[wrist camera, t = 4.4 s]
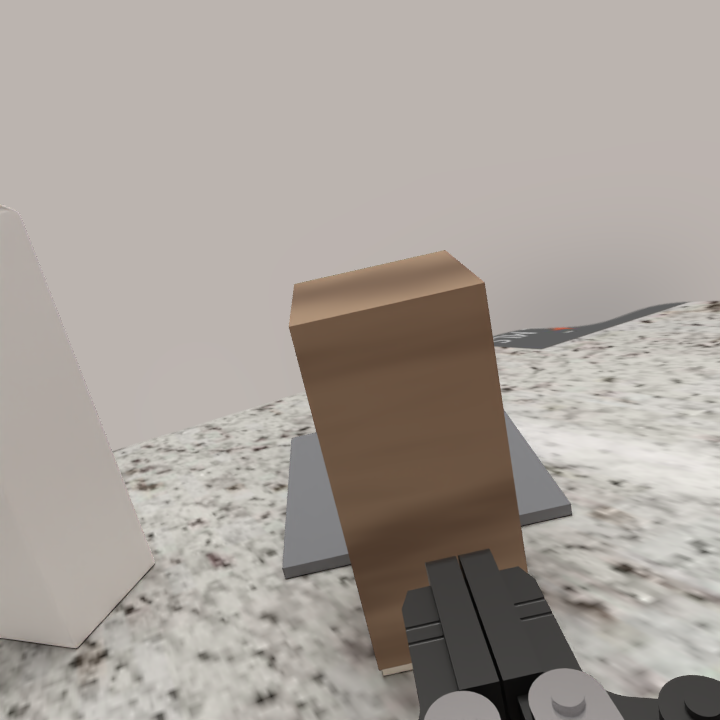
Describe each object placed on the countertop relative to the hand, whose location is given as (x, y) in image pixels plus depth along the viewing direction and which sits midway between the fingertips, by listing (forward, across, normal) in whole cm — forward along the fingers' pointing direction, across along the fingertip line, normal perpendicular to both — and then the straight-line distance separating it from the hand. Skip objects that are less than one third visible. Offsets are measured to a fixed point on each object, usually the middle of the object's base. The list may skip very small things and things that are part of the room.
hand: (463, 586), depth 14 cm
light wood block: (+10, 0, -9) cm, 13 cm away
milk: (+16, -18, -9) cm, 26 cm away
